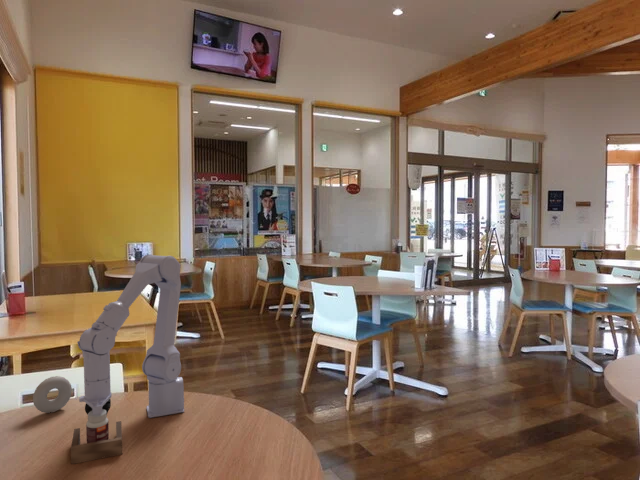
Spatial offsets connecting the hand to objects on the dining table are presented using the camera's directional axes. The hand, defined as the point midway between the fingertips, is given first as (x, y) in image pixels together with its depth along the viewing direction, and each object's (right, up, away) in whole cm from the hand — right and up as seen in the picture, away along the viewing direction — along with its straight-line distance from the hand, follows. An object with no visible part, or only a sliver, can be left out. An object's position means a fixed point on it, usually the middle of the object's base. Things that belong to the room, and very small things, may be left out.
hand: (98, 432), depth 112 cm
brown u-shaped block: (+2, -2, -4) cm, 5 cm away
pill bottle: (+2, -2, -4) cm, 4 cm away
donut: (-21, -1, +16) cm, 26 cm away
